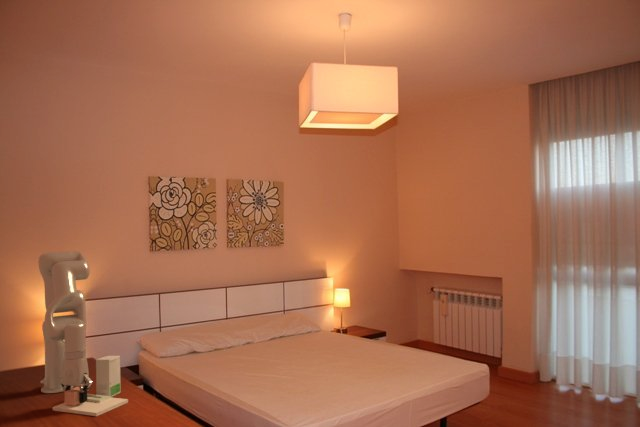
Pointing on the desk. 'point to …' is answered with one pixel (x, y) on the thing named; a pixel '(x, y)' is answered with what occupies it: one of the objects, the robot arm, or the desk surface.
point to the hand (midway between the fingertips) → (75, 400)
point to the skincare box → (108, 376)
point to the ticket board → (92, 405)
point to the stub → (72, 396)
